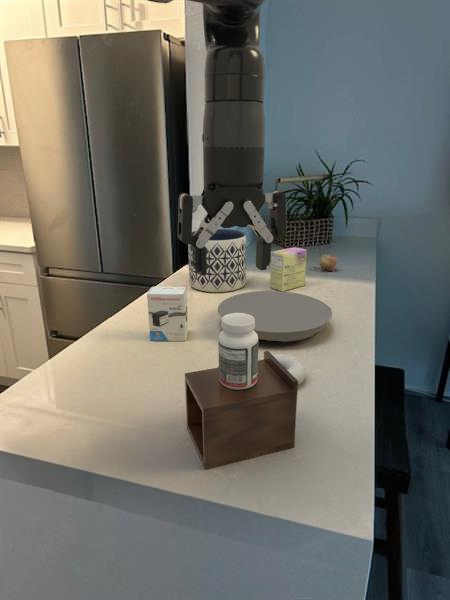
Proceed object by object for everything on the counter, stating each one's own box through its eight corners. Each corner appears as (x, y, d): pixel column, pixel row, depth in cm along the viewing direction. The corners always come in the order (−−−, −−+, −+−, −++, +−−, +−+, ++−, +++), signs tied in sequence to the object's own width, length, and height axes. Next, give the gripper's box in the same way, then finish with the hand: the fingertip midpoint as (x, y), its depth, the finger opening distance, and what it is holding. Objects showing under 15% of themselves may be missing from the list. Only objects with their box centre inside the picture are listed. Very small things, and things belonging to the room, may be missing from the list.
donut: (244, 381, 83) (289, 397, 77) (243, 365, 82) (290, 380, 76) (271, 361, 90) (314, 375, 84) (271, 346, 89) (315, 359, 83)
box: (292, 281, 142) (294, 246, 138) (305, 285, 138) (307, 249, 134) (269, 287, 136) (270, 251, 132) (282, 292, 132) (283, 254, 128)
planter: (241, 294, 130) (242, 241, 124) (183, 292, 132) (181, 239, 127) (248, 277, 146) (249, 229, 141) (196, 275, 149) (194, 228, 144)
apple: (317, 272, 152) (318, 256, 149) (320, 267, 159) (321, 251, 157) (334, 274, 150) (335, 257, 148) (337, 268, 157) (338, 252, 155)
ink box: (149, 341, 99) (146, 293, 95) (153, 332, 104) (150, 286, 100) (186, 341, 99) (184, 293, 95) (188, 332, 104) (187, 286, 100)
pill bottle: (241, 367, 67) (242, 308, 64) (265, 382, 63) (267, 320, 59) (211, 378, 64) (210, 317, 61) (234, 395, 60) (234, 330, 56)
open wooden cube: (205, 469, 60) (203, 399, 56) (186, 428, 69) (184, 365, 65) (294, 447, 65) (298, 380, 61) (266, 410, 73) (268, 350, 70)
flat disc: (235, 301, 124) (235, 286, 123) (335, 312, 116) (336, 296, 115) (201, 341, 99) (200, 323, 98) (324, 358, 91) (326, 339, 90)
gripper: (184, 143, 47) (188, 284, 53) (300, 144, 51) (292, 274, 57) (169, 143, 54) (174, 268, 59) (273, 144, 58) (268, 260, 64)
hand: (232, 271), depth 58 cm, fingers open, 8 cm apart
